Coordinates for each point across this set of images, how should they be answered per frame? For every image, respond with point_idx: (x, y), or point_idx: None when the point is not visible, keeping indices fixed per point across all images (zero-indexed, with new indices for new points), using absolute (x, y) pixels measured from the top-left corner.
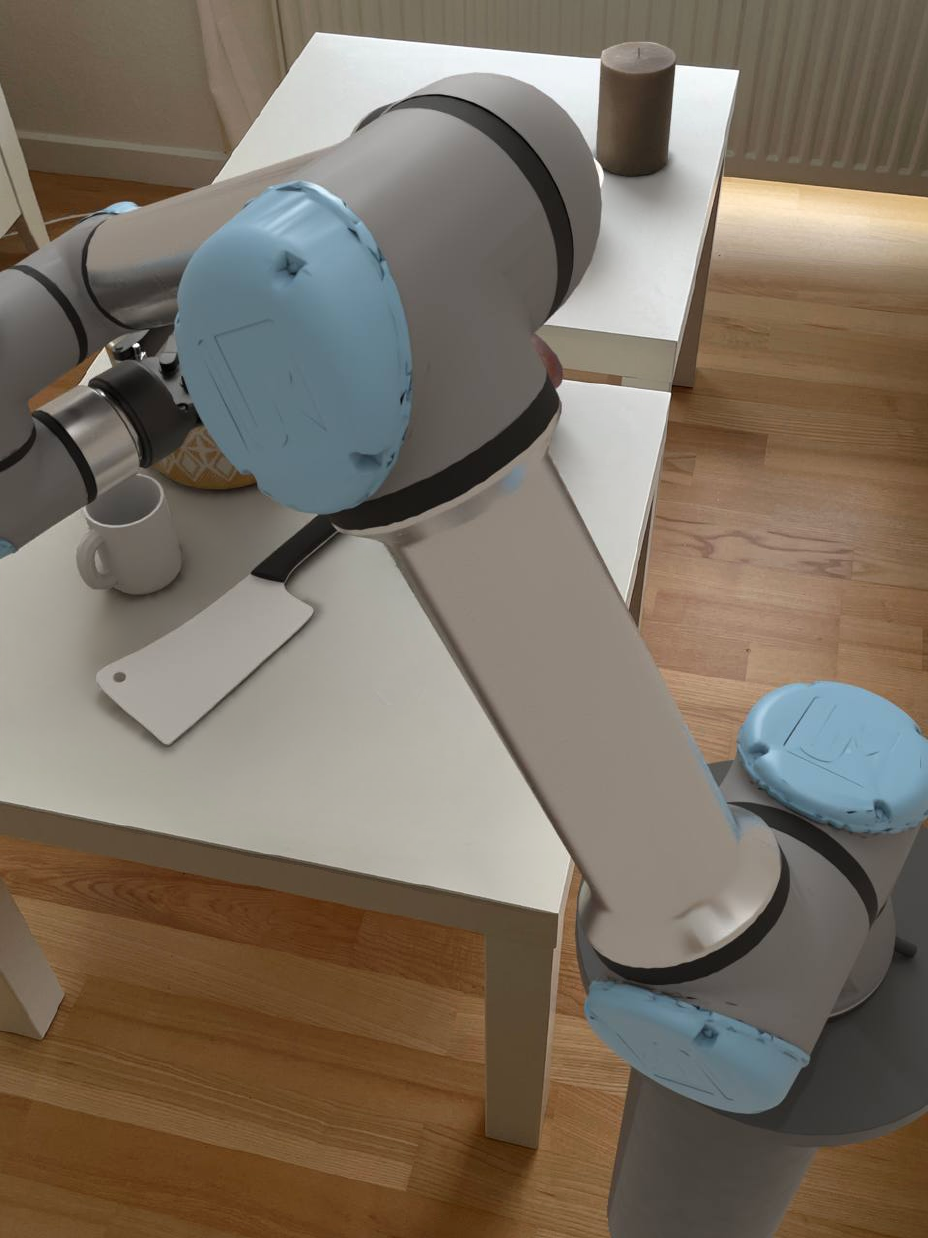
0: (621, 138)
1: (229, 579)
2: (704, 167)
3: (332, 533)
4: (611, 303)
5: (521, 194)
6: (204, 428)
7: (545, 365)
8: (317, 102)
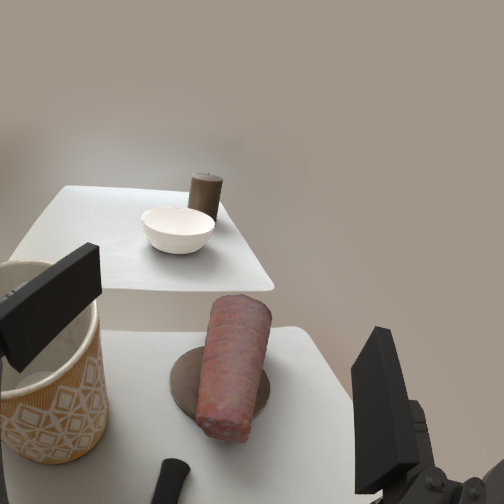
0: (203, 208)
1: None
2: (231, 220)
3: (179, 497)
4: (238, 277)
5: None
6: (35, 438)
7: (269, 320)
8: (64, 203)
